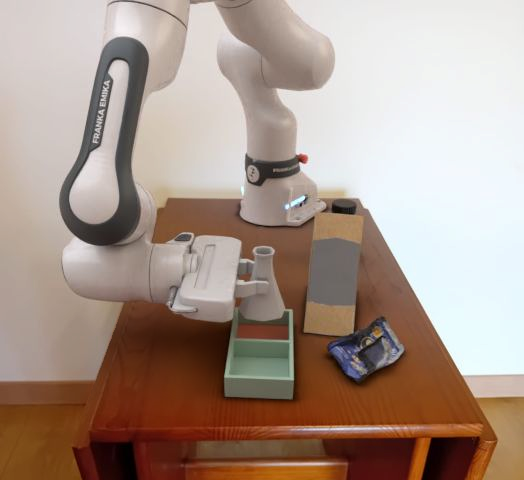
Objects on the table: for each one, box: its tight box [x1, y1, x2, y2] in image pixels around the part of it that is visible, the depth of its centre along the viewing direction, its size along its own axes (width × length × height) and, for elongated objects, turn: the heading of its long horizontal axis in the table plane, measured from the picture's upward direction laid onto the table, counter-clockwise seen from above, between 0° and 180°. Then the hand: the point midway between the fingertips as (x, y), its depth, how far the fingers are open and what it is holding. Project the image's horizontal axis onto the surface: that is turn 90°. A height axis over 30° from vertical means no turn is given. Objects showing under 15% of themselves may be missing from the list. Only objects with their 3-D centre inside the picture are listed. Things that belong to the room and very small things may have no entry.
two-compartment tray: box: [223, 306, 295, 400], centre depth 82 cm, size 18×10×4 cm, turn 178°
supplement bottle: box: [330, 198, 358, 215], centre depth 108 cm, size 7×7×12 cm
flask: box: [238, 245, 286, 321], centre depth 80 cm, size 7×7×10 cm
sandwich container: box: [303, 211, 365, 337], centre depth 90 cm, size 9×15×15 cm, turn 172°
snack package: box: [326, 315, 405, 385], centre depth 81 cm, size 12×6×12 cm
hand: (269, 278), depth 80 cm, fingers closed on flask, 3 cm apart
